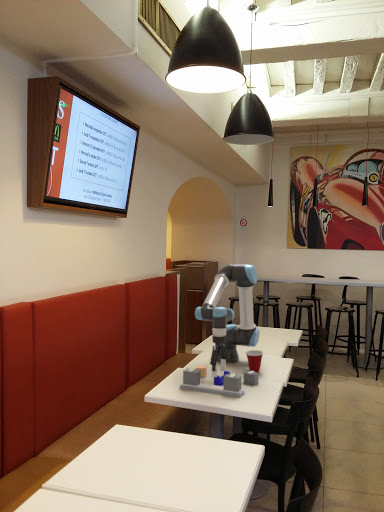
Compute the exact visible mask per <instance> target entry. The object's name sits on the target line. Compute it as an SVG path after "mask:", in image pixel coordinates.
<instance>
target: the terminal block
mask: <svg viewBox="0 0 384 512" xmlns="http://www.w3.org/2000/svg"><path fill="white" fill-rule="evenodd" d="M194 369H196V370H201V377H203V378H206V377H207V375H208V374H207V373H208V367H207V365H196V366H195V368H194Z"/></svg>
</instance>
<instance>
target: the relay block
mask: <svg viewBox="0 0 384 512" xmlns="http://www.w3.org/2000/svg"><path fill="white" fill-rule="evenodd" d="M259 374H260V372H258V373H257V372H255V371H250V370H246V371H244V372H243V384H246V385H251V386H256V385H258V383H259V380H260V379H259V376H260V375H259Z"/></svg>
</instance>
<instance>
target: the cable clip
mask: <svg viewBox="0 0 384 512" xmlns="http://www.w3.org/2000/svg"><path fill="white" fill-rule="evenodd" d="M226 374H231V371H230V370H229V371H228V370H226V371H223V375H221V376H220V375H218V374H217V377H213V385H216V386H223V385H224V376H225V375H226Z"/></svg>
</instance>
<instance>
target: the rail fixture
mask: <svg viewBox="0 0 384 512" xmlns="http://www.w3.org/2000/svg"><path fill="white" fill-rule="evenodd" d="M201 379H202V378H201V370H196V369H195V368H193V367H191V368H186V369H184V370H183V371H182V383H181V384H180V385H179V389H184V390H190V391H197V392H203V393H210V394H216V395H217V394H218V395H223V396H230V397H237V398H242V397H243V396H244V395H245V390H243V389H242V375H238V374H236V373H230V374H226V375H225V376H224V385H222V386H216V385H214V384H209V383H208V384H207V383H202V382H201V381H202V380H201Z"/></svg>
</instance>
